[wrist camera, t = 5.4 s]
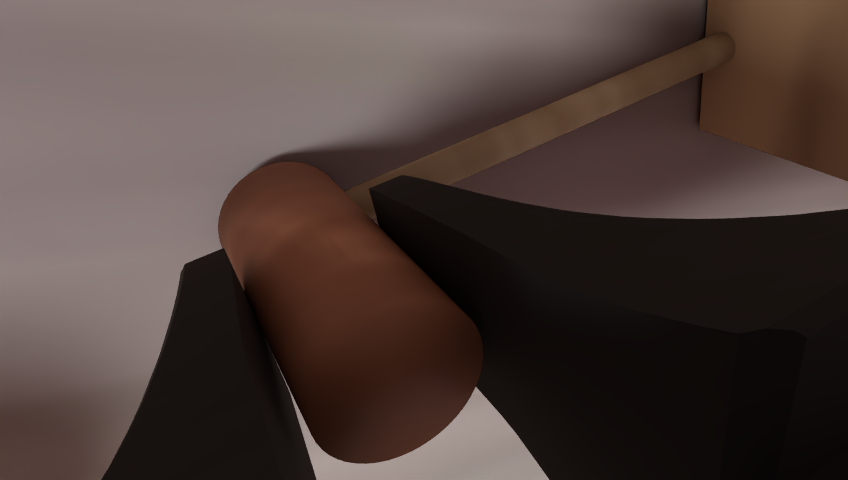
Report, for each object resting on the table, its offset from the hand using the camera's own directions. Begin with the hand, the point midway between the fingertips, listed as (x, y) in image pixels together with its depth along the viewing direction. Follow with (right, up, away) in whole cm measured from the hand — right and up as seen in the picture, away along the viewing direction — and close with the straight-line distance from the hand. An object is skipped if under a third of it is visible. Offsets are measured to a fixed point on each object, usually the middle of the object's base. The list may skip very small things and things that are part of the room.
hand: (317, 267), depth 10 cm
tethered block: (+5, +4, +3) cm, 7 cm away
